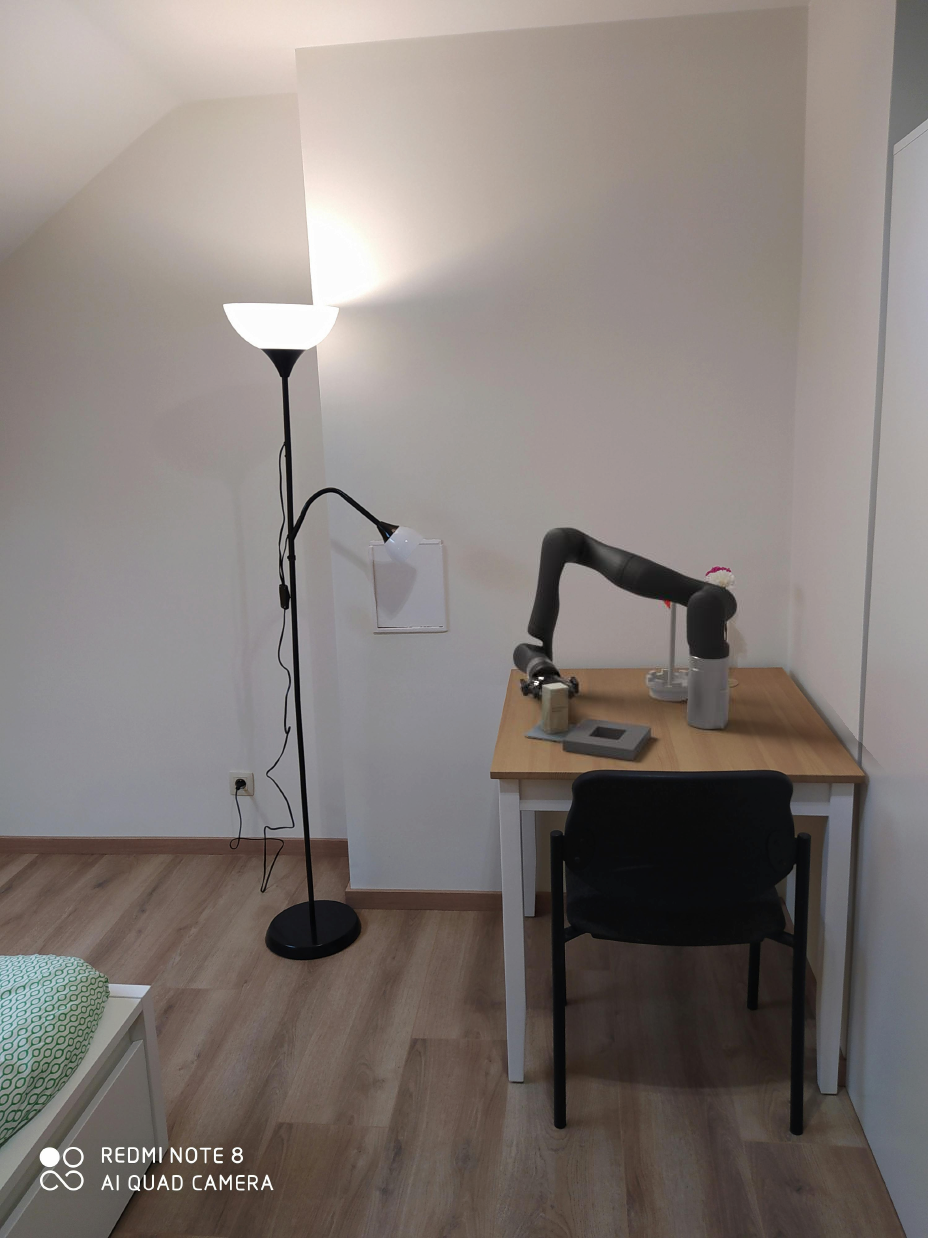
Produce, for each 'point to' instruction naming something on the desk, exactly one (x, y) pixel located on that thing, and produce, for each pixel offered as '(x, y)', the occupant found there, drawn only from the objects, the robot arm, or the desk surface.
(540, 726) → the pad
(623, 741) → the socket block
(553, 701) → the box
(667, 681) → the flag stand
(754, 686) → the desk surface
